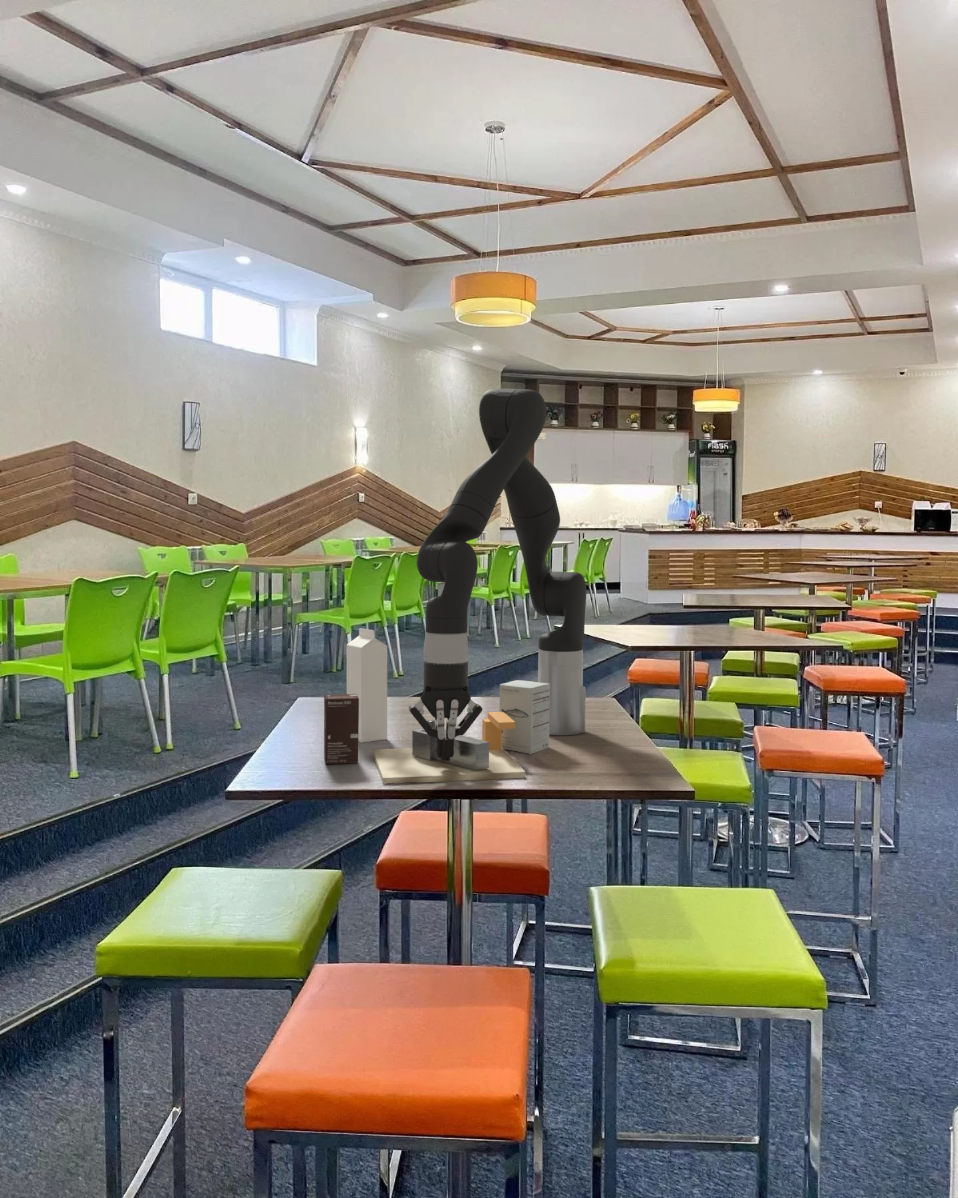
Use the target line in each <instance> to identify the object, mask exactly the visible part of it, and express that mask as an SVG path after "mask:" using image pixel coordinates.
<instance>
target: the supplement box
mask: <svg viewBox="0 0 958 1198" xmlns="http://www.w3.org/2000/svg"><path fill="white" fill-rule="evenodd" d="M498 708H499V711H498V712H504V713H505V714H506V715H508V716H509V717H510V718H511V719H512V720H513V721H515V729H501V747H502V748H503V749H504V750H505V751H506V750H508V751H514V752H518V753H526V754H530V755H531V754H535V753H538V752H540V751H542V750H543V751H544V750H546V749H548V748H549V747H550V734H549V719H550V684H548V683H539V682H538V681H532V680H531V681H529V680H521V679H520V680H519V679H517V680H512V681H509V682H505V683H500V684H499V707H498Z"/></svg>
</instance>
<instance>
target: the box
mask: <svg viewBox="0 0 958 1198" xmlns="http://www.w3.org/2000/svg"><path fill="white" fill-rule="evenodd" d="M323 703H324V704H323V706H324V707H323V708H324V710H323V715H324V716H323V717H324V718H323V720H324V721H323V725H324V726H323V743H324V744H323V759H324V760H323V761H324V764H325V765H334V764H335V765H336V764H337V765H338V764H358V763H359V742H358V729H359V728H358V727H359V698H358V696H357V694H347V693H335V694H324V697H323Z"/></svg>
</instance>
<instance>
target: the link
mask: <svg viewBox="0 0 958 1198" xmlns="http://www.w3.org/2000/svg"><path fill="white" fill-rule="evenodd" d="M411 732H412V736H411V737H412V740H411V741H412V745H411V746H412V747H411V748H412V755H413V756H417V757H420V758H424V759H427V760H434V759H435V760H438V761H441V760H440V758H438V756H437V754H436V737H433V736H429V735H428V734H427V733H426V731H425V730H424V729H423V728H419V729H413V730H412V731H411ZM445 737H446V729H445ZM442 762H446V763H449V764H453V765H456V766H460V767H463V768H467V769H471V770H474V771H478V770H483V769H487V768H489V742H487V741H483V740H482V739H479V738H478V739H477V738H475V737H470V736H467V735H459V736H457V737H455V739H454V755H453V757H450V761H442Z"/></svg>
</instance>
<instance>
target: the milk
mask: <svg viewBox="0 0 958 1198" xmlns="http://www.w3.org/2000/svg"><path fill="white" fill-rule="evenodd" d="M375 635H376V634H375V630H373V629H368V628H361V627H360V628H359V629H358V635H357V636H356V637H355V638H354V639H352V640H351V641H349V642H348V643H347V644H346V694H357V696H358V698H359V727H358V728H359V729H358V743H361V744H365V743H369V742H377V741H383V740H388V645H386V644H385V643H384V642H382V641H380V640H378V639H377V638H376V637H375Z"/></svg>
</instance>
